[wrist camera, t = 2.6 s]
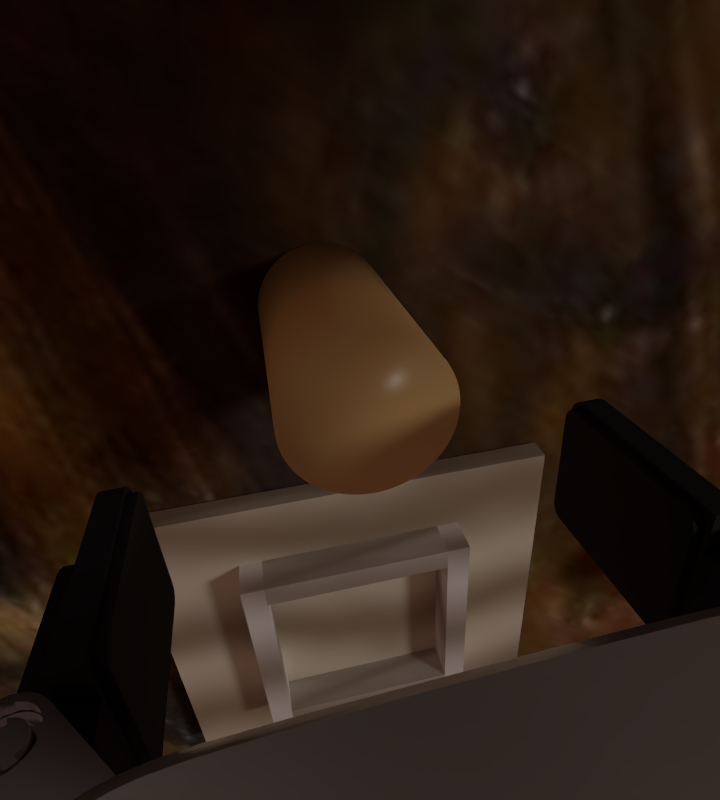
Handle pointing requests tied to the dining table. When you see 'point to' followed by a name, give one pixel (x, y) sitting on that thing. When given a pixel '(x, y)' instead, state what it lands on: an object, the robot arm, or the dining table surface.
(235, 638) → the grey square framed plate
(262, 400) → the dining table surface
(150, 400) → the dining table surface
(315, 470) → the tan rounded oblong piece
